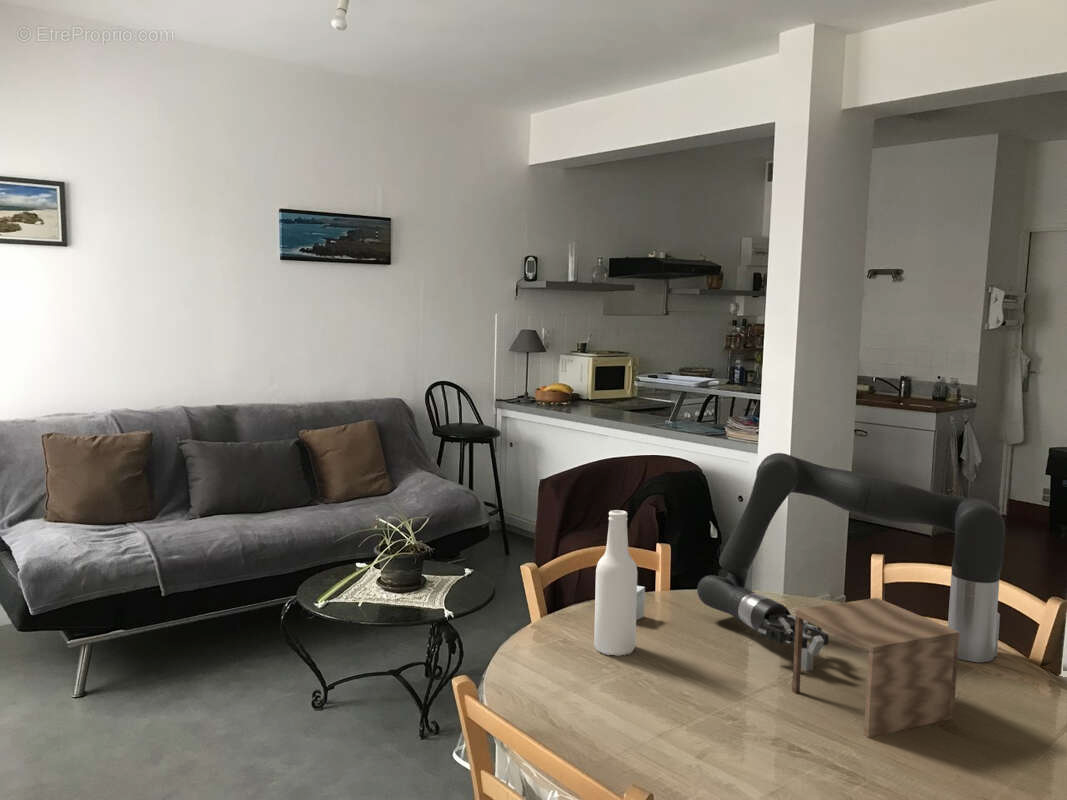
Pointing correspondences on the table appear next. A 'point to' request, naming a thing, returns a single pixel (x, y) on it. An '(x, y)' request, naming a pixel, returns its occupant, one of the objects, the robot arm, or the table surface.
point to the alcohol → (616, 592)
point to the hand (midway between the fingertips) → (816, 641)
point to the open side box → (892, 661)
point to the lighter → (811, 653)
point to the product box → (640, 602)
